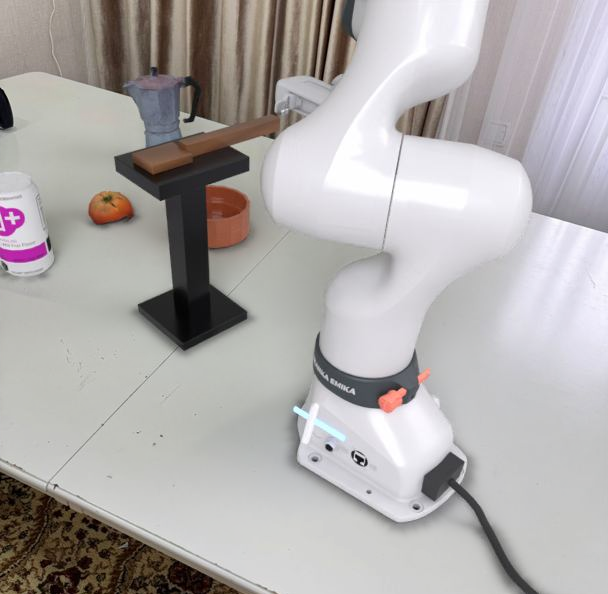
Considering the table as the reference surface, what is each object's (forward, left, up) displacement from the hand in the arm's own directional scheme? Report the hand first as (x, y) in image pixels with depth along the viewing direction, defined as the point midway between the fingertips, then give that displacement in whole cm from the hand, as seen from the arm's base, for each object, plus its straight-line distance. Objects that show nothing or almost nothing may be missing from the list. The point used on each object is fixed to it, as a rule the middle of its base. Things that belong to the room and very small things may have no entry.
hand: (301, 120), depth 95 cm
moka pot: (+44, -4, -25) cm, 51 cm away
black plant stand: (-3, +24, -25) cm, 34 cm away
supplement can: (+25, +37, -25) cm, 51 cm away
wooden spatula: (-3, +19, +1) cm, 19 cm away
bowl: (+15, +6, -25) cm, 29 cm away
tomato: (+31, +18, -25) cm, 44 cm away
